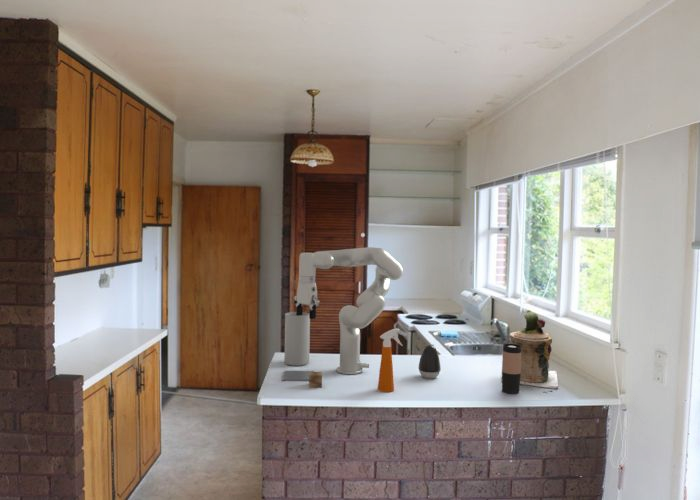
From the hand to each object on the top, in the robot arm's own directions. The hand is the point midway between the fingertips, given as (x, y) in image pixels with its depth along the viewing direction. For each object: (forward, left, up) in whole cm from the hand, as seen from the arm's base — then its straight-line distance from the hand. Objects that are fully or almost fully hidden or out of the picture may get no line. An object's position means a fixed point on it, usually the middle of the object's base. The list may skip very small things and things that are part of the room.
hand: (305, 316), depth 236 cm
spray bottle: (-37, +18, -28) cm, 50 cm away
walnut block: (-5, +13, -28) cm, 31 cm away
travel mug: (-89, +20, -28) cm, 95 cm away
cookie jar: (-105, +1, -28) cm, 109 cm away
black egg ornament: (-58, -1, -28) cm, 64 cm away
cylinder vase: (+5, -24, -28) cm, 37 cm away
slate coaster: (+3, -1, -28) cm, 28 cm away
